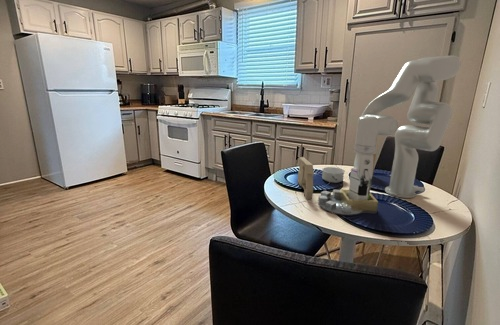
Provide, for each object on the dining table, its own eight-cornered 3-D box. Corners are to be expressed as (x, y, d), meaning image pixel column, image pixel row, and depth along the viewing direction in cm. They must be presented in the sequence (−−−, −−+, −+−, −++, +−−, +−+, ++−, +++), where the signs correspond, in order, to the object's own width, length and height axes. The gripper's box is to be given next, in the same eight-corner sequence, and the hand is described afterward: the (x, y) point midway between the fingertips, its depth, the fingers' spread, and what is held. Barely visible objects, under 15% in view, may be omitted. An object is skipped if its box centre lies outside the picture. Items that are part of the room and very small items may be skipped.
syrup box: (357, 206, 105) (361, 171, 101) (347, 200, 111) (351, 167, 107) (368, 204, 107) (373, 170, 103) (358, 198, 113) (362, 165, 109)
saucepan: (322, 188, 129) (323, 178, 127) (320, 175, 147) (321, 166, 146) (347, 191, 126) (348, 179, 125) (342, 177, 145) (343, 167, 144)
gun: (313, 200, 115) (315, 166, 112) (305, 200, 115) (307, 166, 112) (303, 185, 139) (304, 156, 136) (297, 185, 139) (298, 156, 136)
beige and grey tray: (364, 198, 118) (365, 187, 116) (379, 217, 101) (381, 205, 99) (315, 196, 119) (316, 185, 118) (322, 214, 102) (323, 202, 101)
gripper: (382, 154, 94) (375, 200, 99) (368, 144, 111) (363, 184, 115) (360, 153, 95) (354, 199, 100) (349, 143, 111) (345, 183, 116)
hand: (359, 191), depth 108 cm, fingers closed on syrup box, 7 cm apart
